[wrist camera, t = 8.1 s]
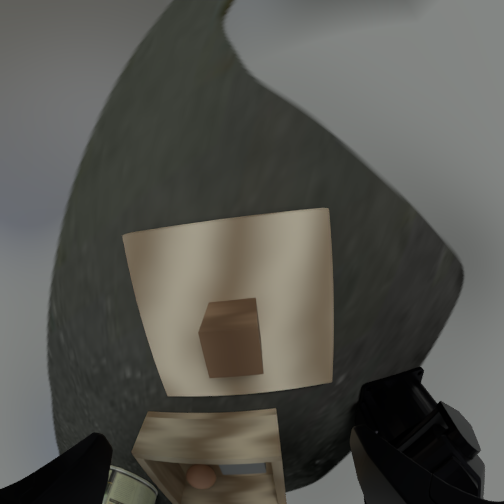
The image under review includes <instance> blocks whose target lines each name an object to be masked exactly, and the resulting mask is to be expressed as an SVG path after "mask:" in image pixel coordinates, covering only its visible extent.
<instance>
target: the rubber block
mask: <svg viewBox="0 0 504 504" xmlns="http://www.w3.org/2000/svg"><path fill="white" fill-rule="evenodd" d="M219 467H220V469H221V472H222V474H223V475H234V474H256V473H266V463H252V464H226V465H219Z"/></svg>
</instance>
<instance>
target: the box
mask: <svg viewBox="0 0 504 504" xmlns="http://www.w3.org/2000/svg"><path fill="white" fill-rule="evenodd" d="M131 453H132V454H133V456H134V457H135V458H136V460H137V461H138V463H139V464H140V465H141V467H142V468H143V469H144V470H145V472H146V473H147V474H148V476H149V477H150V478H151V479H152V480H153V482H154V483H155V484H156V485H157V487H158V488H159V489H160V490H161V491H162V492H163V493H164V495H165V496H166V497H167V498H168V499H169V500H170V501H171V502H172V503H173V504H286V496H285V495H286V494H285V485H284V475H283V465H282V456H281V447H280V438H279V430H278V421H277V412H276V408H274V409H265V410H255V411H242V412H224V413H169V412H151V411H148V413H147V415H146V417H145V420H144V422H143V425H142V427H141V429H140V432H139V434H138V437H137V439H136V442H135V444H134V447H133V449H132V452H131ZM252 463H266V473H256V474H234V475H223V474H222V472H221V469H220V467H219V465H226V464H252ZM195 464H205V465H208V466H210V467H211V468H212V469H213V470H214V471H215V473H216V482H215V484H214V485H213V486H212V487H210V488H208V489H197V488H194V487H193V486H191V485H190V484H189V483H188V481H187V479H186V472H187V470H188V469H189V468H190V467H191V466H192V465H195Z"/></svg>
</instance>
